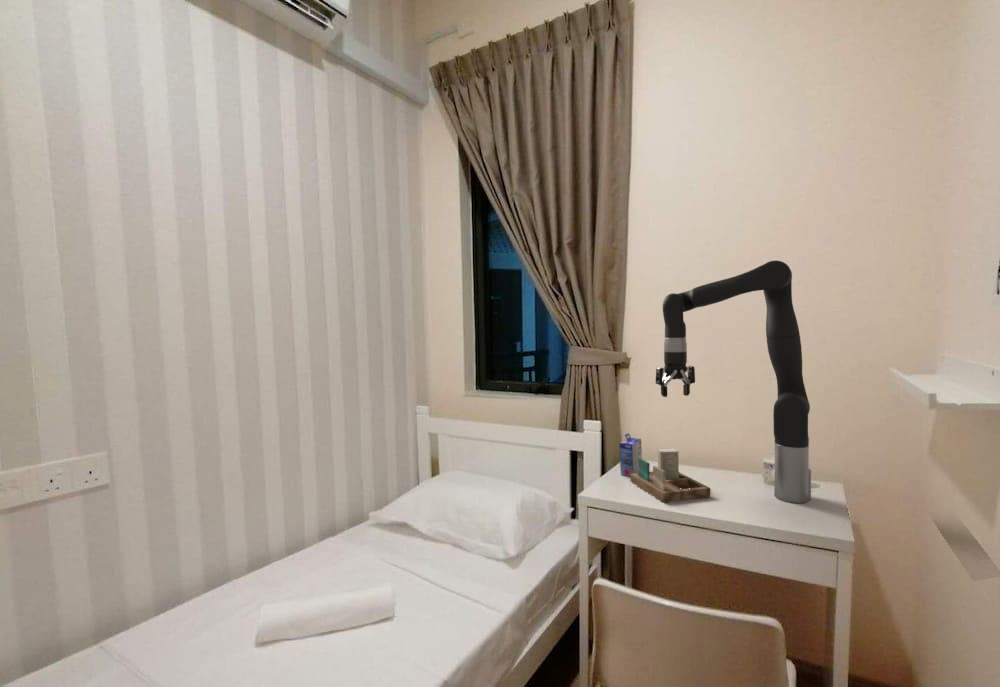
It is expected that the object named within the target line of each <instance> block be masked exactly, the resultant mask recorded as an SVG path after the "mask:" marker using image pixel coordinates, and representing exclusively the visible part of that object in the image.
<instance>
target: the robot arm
mask: <svg viewBox="0 0 1000 687" xmlns="http://www.w3.org/2000/svg"><path fill="white" fill-rule="evenodd" d="M792 281H793V273H792V269H791V268H790V266H789V265H788V264H787V263H785V262H784V261H781V260H770V261H767V262H766V263H764V264H761V265H759V266H758V267H755V268H753V269H750V270H749V271H746V272H743V273H740V274H738V275H735V276H732V277H728V278H724V279H721V280H717V281H713V282H709V283H706V284H702V285H699V286H696V287H694V288H692V289H690V290H687V291H683V292H679V293H676V292H675V293H670V294H667V295H666V296H664V299H663V301H662V315H663V321H664V343H663V356H664V357H663V361H664V367H659V366H657V367H656V369H655V384H656V385H658V386H660V394H661V396H662V398H663V397H664V398H668V384H669V383H670V382H671V381H672V380H680V381H682V383H683V385H682V386H683V387H682V389H683V392H682V394H683V396H686V397H689V396H690V393H691V384H695V383H696V369H695V366H693V365H688V366H687V362H688V359H687V358H688V356H687V355H688V353H687V352H688V349H687V348H688V347H687V346H688V345H687V338H686V337H687V326H686V323H685V320H684V313H685V312H689V311H691V310H694V309H697V308H701V307H705V306H710V305H713V304H717V303H720V302H723V301H726V300H729V299H732V298H734V297H737V296H740V295H743V294H748V293H752V292H758V291H763V295H764V299H765V305H766V320H765V335H766V336H765V338H766V344H767V346H766V347H767V352H768V356H769V359H770V362H771V365H772V369H773V372H774V373H775V377H776V383H777V384H776V385H777V398H776V401H775V402H774V404H773V405H774V406H773V414H772V415H773V416H772V417H773V436H774V477H773V479H774V492H773V493H774V497H775V498H776V499H779V500H780V501H784V502H787V503H794V504H795V503H796V504H799V503H800V504H803V503H806V502H807V503H808V501H809V500H812V495H811V494H812V470H811V468H809V466H810V465H809V463H810V462H809V460H810V459H809V458H810V456H809V455H810V454H809V449H810V444H809V443H810V438H809V437H810V436H809V413H810V410H811V404H810V401H809V398H808V395H807V390H806V387H805V386H806V385H805V382H804V376H803V353H802V352H803V351H802V343H801V335H800V334H801V333H800V330H799V329H800V328H799V324H798V320H797V317H796V313H795V309H794V305H793V304H794V303H793V297H792V296H793V294H792V293H793V292H792V287H793V286H792ZM686 373H687V374H686Z"/></svg>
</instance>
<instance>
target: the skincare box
mask: <svg viewBox="0 0 1000 687" xmlns="http://www.w3.org/2000/svg"><path fill="white" fill-rule="evenodd" d="M679 462H680V461H679V451H678V449H677V448H676V447H667V448H666V447H665V448H664V447H660V448H657V467H658V468H660V469H662V470H664V471H665V480H671V479H679V472H680V471H679V470H680V468H679V466H680V464H679Z"/></svg>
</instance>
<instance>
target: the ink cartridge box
mask: <svg viewBox="0 0 1000 687" xmlns="http://www.w3.org/2000/svg"><path fill="white" fill-rule="evenodd" d="M624 437H625V439H624V440H622V441H621V442H620V443H619V458H620V459H619V461H620V462H619V463H620V466H619V467H620V475H621V476H625V475H626V476H625V477H631V474H633V473H638V458H641V459H643V455H642V453H643V452H642V447H643V446H642V438H638V437H631V434H629V433H626V434H625V435H624Z"/></svg>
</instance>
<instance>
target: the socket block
mask: <svg viewBox="0 0 1000 687" xmlns="http://www.w3.org/2000/svg"><path fill="white" fill-rule="evenodd" d="M631 482H632V484H633V485H634V484H635V485H634V486H636V485H637V486H636V487H638V488H639V487H640V489H641V490H642V489H643V490H642V491H644V492H645V491H646V493H647V492H648V493H647V494H648V495H650V494H651V495H650V496H652V497H653V496H654V497H653V498H655V497H656V498H657V500H658V499H659V500H660V502H661V501H662V502H661V503H663V502H666V503H672V502H671V501H675V502H682V501H681V500H683V501H689V500H690V499H691V500H698V498H700V499H707V498H706V497H708V498H711V487H709V486H707V485H705V484H703V483H702V482H699V481H697V480H695V479H693V478H692V477H689V476H687V475H685V474H684V473H682V472H680V471H679V479H671V480H665V471H664V470H662V469H660V468H658V466H656V465H653V466H652V471H650V462H648V461H647V460H644V459H643V458H642V459H641V458H638V473H633V474H631V476H630V483H631ZM680 488H684V489H680ZM689 488H690V489H689ZM656 498H655V499H656ZM659 500H658V501H659Z"/></svg>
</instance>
